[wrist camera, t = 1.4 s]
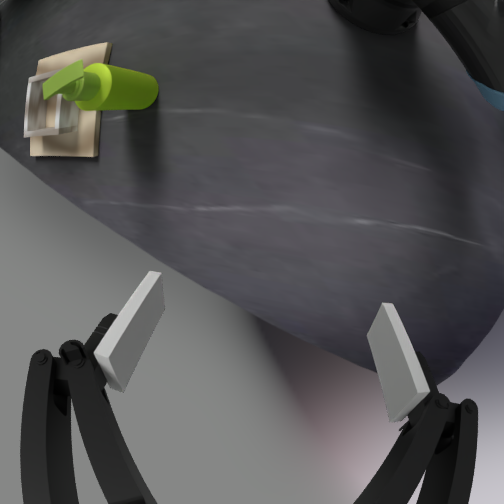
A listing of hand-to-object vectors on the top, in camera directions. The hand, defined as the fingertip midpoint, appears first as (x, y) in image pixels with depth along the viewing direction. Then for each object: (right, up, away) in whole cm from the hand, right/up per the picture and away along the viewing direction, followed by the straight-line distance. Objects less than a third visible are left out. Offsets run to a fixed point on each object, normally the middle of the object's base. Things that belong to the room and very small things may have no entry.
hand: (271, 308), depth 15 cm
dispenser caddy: (-34, +30, +18) cm, 49 cm away
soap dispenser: (-17, +28, +18) cm, 37 cm away
